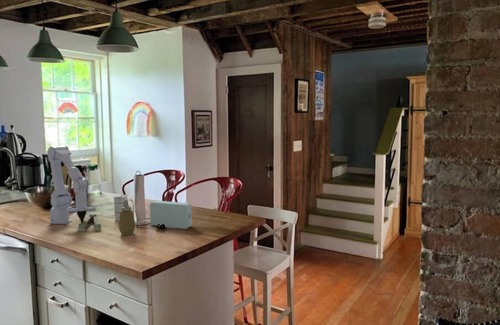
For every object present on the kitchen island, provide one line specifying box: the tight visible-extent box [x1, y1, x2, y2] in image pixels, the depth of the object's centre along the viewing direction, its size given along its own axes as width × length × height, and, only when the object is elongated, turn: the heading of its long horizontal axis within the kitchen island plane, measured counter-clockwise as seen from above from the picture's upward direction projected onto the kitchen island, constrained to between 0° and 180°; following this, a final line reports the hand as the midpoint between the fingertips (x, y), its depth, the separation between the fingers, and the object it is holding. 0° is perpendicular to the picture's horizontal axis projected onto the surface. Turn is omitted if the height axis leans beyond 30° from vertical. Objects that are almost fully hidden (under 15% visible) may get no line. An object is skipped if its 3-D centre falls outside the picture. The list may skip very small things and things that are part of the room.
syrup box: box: [113, 194, 129, 222], centre depth 236 cm, size 6×6×14 cm
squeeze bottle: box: [118, 200, 136, 237], centre depth 206 cm, size 8×8×18 cm
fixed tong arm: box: [88, 213, 102, 232], centre depth 223 cm, size 22×6×4 cm, turn 23°
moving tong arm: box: [77, 216, 92, 232], centre depth 220 cm, size 18×3×4 cm, turn 11°
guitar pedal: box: [149, 200, 193, 230], centre depth 222 cm, size 23×6×13 cm, turn 71°
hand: (82, 224), depth 220 cm, fingers closed
